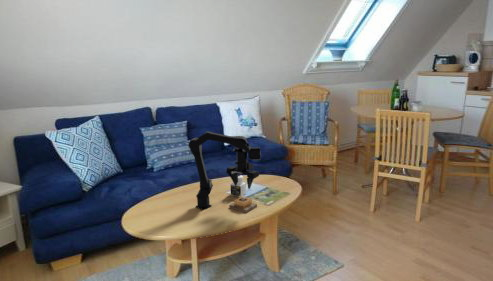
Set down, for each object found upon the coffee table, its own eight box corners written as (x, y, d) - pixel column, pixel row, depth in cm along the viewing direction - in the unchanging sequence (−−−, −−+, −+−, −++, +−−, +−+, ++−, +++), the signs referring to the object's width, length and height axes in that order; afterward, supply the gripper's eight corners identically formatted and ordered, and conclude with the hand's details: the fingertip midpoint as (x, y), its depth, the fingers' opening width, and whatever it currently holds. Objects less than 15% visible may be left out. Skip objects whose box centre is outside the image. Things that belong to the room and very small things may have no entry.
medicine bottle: (230, 195, 209) (230, 176, 206) (236, 191, 215) (235, 173, 212) (240, 197, 206) (240, 178, 203) (246, 193, 212) (245, 174, 209)
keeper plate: (246, 212, 184) (246, 203, 183) (229, 207, 191) (228, 198, 189) (257, 206, 192) (256, 197, 190) (240, 201, 199) (239, 193, 197)
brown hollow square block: (244, 208, 186) (244, 203, 185) (234, 205, 190) (234, 200, 190) (251, 204, 192) (251, 199, 191) (241, 201, 196) (241, 196, 195)
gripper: (264, 158, 186) (264, 186, 190) (237, 154, 197) (238, 179, 200) (252, 163, 177) (253, 192, 181) (225, 158, 188) (225, 185, 192)
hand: (242, 187), depth 189 cm, fingers open, 9 cm apart
